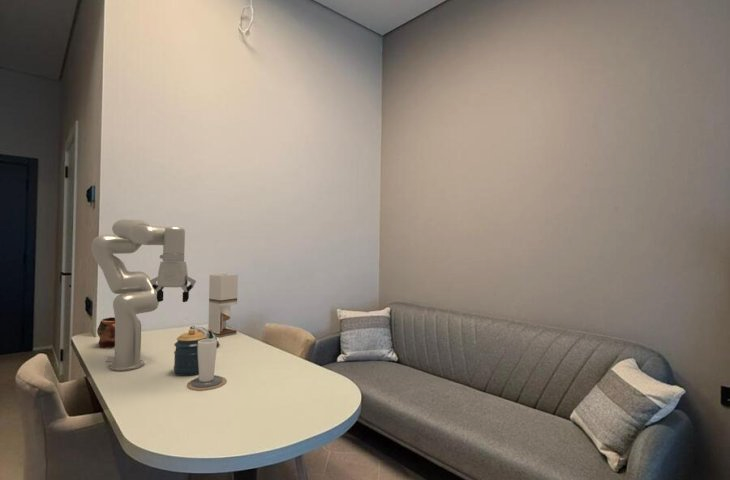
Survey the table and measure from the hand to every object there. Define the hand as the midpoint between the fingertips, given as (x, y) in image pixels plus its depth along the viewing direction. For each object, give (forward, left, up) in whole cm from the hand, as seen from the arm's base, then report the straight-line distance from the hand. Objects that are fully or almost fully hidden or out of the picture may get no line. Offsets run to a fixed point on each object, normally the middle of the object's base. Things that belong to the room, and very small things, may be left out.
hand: (172, 301), depth 149 cm
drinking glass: (+16, -5, -29) cm, 34 cm away
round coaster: (+16, -5, -30) cm, 35 cm away
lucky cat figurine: (-4, +44, -31) cm, 54 cm away
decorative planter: (-52, +46, -31) cm, 76 cm away
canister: (+4, +9, -31) cm, 32 cm away
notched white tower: (-5, +73, -31) cm, 79 cm away
